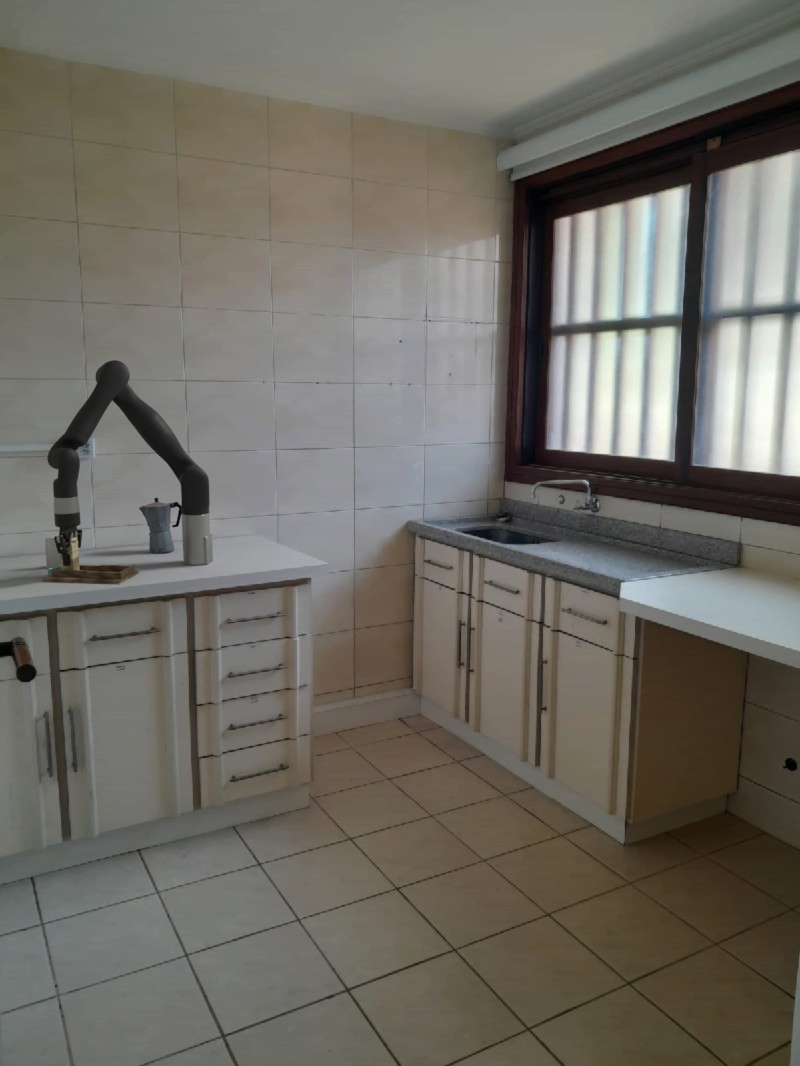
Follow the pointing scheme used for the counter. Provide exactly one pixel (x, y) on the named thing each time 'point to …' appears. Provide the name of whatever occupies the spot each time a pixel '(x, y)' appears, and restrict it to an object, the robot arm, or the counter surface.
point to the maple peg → (72, 556)
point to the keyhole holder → (92, 574)
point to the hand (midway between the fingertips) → (70, 563)
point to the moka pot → (160, 525)
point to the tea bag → (52, 553)
